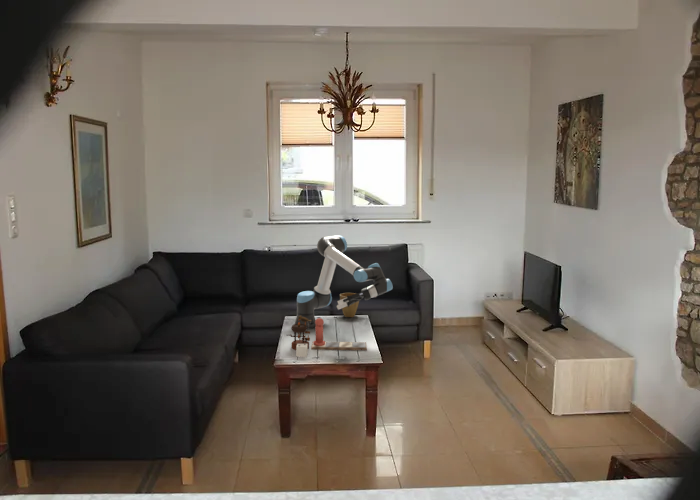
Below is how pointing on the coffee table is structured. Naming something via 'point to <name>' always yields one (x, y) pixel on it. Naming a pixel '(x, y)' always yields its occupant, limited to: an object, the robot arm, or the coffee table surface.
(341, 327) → the coffee table surface
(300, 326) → the music box
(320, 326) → the pawn
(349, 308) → the plant pot
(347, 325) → the coffee table surface
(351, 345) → the board
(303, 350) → the die
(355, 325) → the coffee table surface
